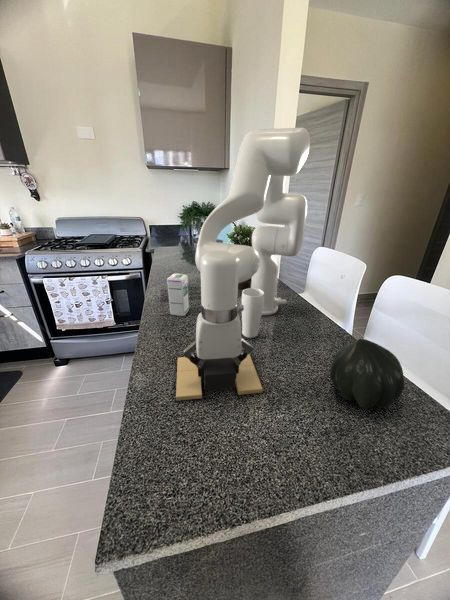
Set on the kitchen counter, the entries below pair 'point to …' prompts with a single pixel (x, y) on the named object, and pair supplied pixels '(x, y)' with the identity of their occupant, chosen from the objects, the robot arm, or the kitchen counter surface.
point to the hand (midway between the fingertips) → (218, 375)
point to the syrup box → (178, 294)
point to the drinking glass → (251, 311)
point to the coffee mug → (245, 284)
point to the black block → (219, 374)
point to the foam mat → (191, 382)
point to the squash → (367, 374)
